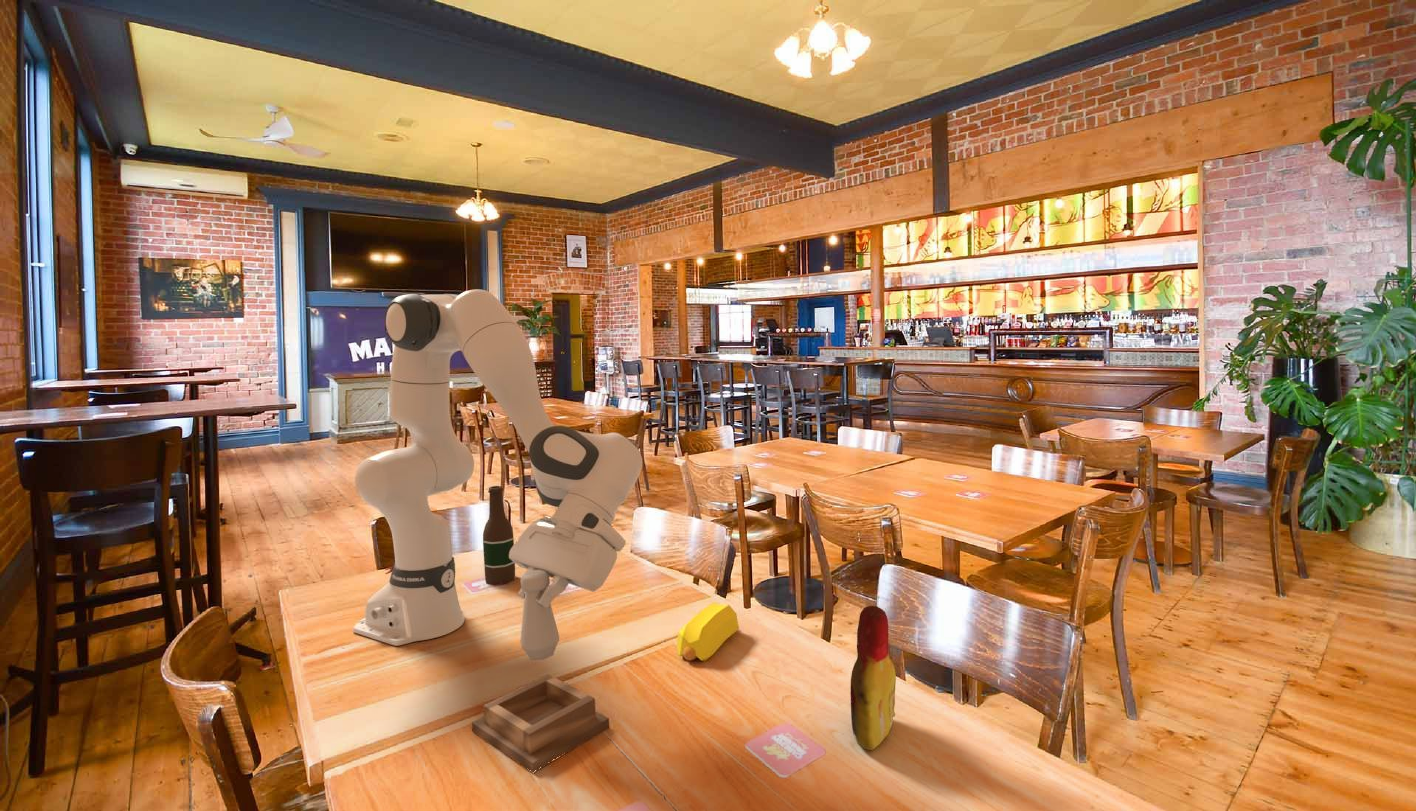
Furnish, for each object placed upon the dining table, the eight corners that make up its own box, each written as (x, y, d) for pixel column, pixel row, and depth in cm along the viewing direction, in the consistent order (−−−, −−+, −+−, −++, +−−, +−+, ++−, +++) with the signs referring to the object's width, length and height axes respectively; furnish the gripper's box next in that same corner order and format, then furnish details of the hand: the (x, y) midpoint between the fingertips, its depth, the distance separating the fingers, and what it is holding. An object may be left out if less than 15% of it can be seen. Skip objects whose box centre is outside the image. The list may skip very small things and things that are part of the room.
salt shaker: (552, 663, 100) (545, 580, 98) (515, 663, 100) (508, 580, 99) (565, 644, 105) (558, 565, 104) (530, 644, 106) (523, 565, 104)
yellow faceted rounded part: (669, 661, 125) (705, 669, 121) (668, 627, 124) (705, 634, 121) (711, 623, 141) (745, 630, 137) (710, 593, 140) (744, 598, 137)
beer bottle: (493, 573, 173) (488, 483, 171) (521, 574, 172) (516, 483, 170) (478, 584, 166) (473, 490, 163) (508, 585, 165) (503, 490, 162)
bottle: (883, 763, 94) (884, 626, 92) (839, 750, 96) (839, 618, 94) (901, 719, 104) (902, 595, 102) (860, 709, 107) (861, 589, 105)
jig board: (472, 731, 103) (470, 703, 103) (547, 693, 114) (545, 668, 114) (533, 772, 93) (531, 742, 93) (609, 727, 104) (608, 699, 103)
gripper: (529, 504, 112) (480, 577, 106) (610, 523, 99) (560, 607, 93) (552, 523, 116) (507, 595, 110) (633, 544, 103) (587, 627, 97)
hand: (532, 601), depth 101 cm, fingers closed on salt shaker, 3 cm apart
